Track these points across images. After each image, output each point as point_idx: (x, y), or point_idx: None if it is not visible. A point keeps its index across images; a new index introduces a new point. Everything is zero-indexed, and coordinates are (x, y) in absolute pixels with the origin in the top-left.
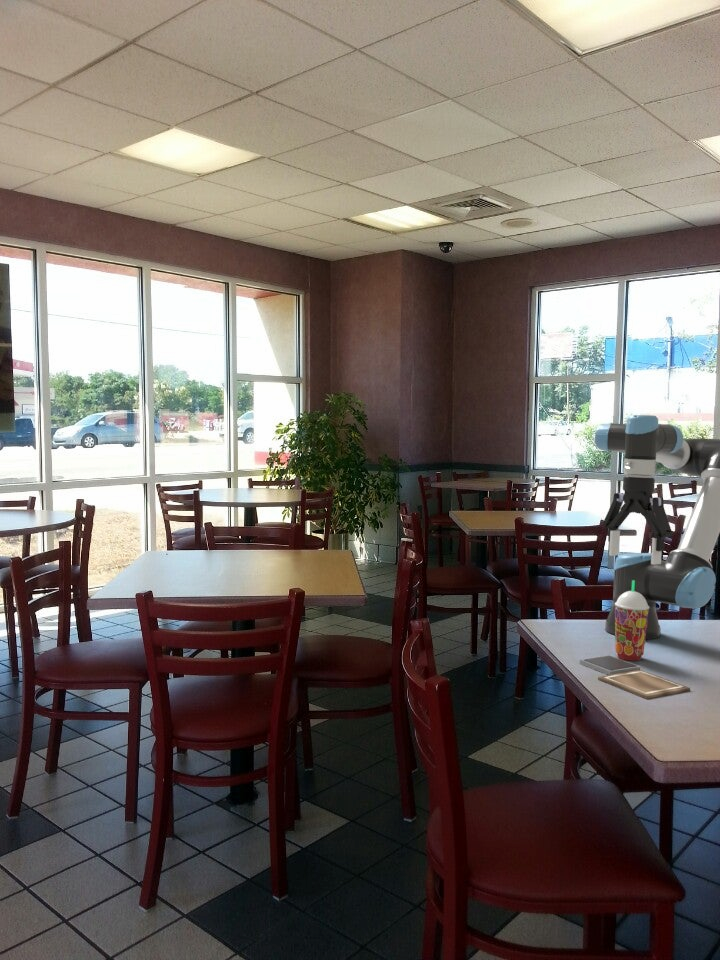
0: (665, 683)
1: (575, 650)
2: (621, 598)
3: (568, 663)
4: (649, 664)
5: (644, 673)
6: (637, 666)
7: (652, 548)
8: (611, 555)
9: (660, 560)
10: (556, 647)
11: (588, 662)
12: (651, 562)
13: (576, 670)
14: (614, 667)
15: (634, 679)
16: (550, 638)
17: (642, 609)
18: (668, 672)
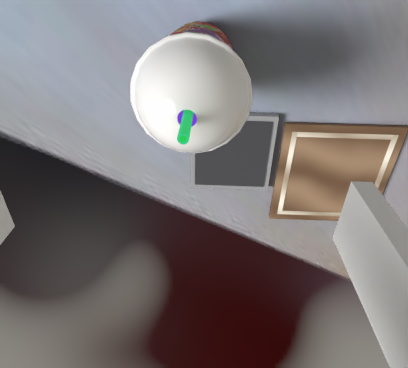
0: (363, 149)
1: (112, 127)
2: (178, 150)
3: (181, 197)
4: (259, 53)
5: (304, 136)
6: (275, 122)
7: (380, 328)
8: (13, 225)
9: (381, 202)
10: (82, 147)
11: (210, 186)
12: (340, 244)
13: (217, 211)
14: (257, 171)
15: (313, 179)
16: (10, 108)
17: (248, 110)
18: (320, 64)
